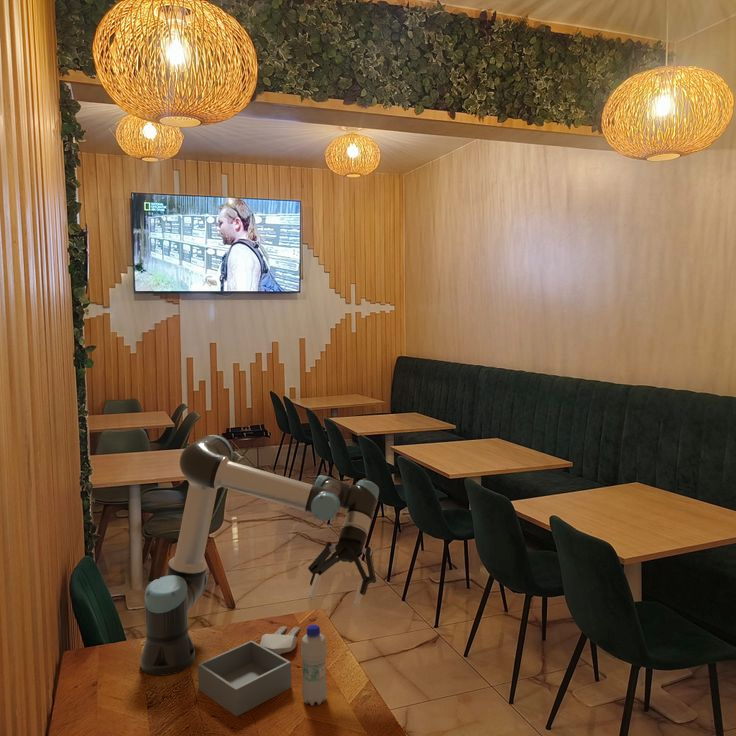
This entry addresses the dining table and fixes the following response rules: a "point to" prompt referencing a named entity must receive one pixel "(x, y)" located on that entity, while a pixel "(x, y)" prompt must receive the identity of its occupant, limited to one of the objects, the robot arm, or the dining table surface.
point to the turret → (280, 640)
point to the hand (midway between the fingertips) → (333, 601)
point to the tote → (244, 677)
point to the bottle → (314, 666)
